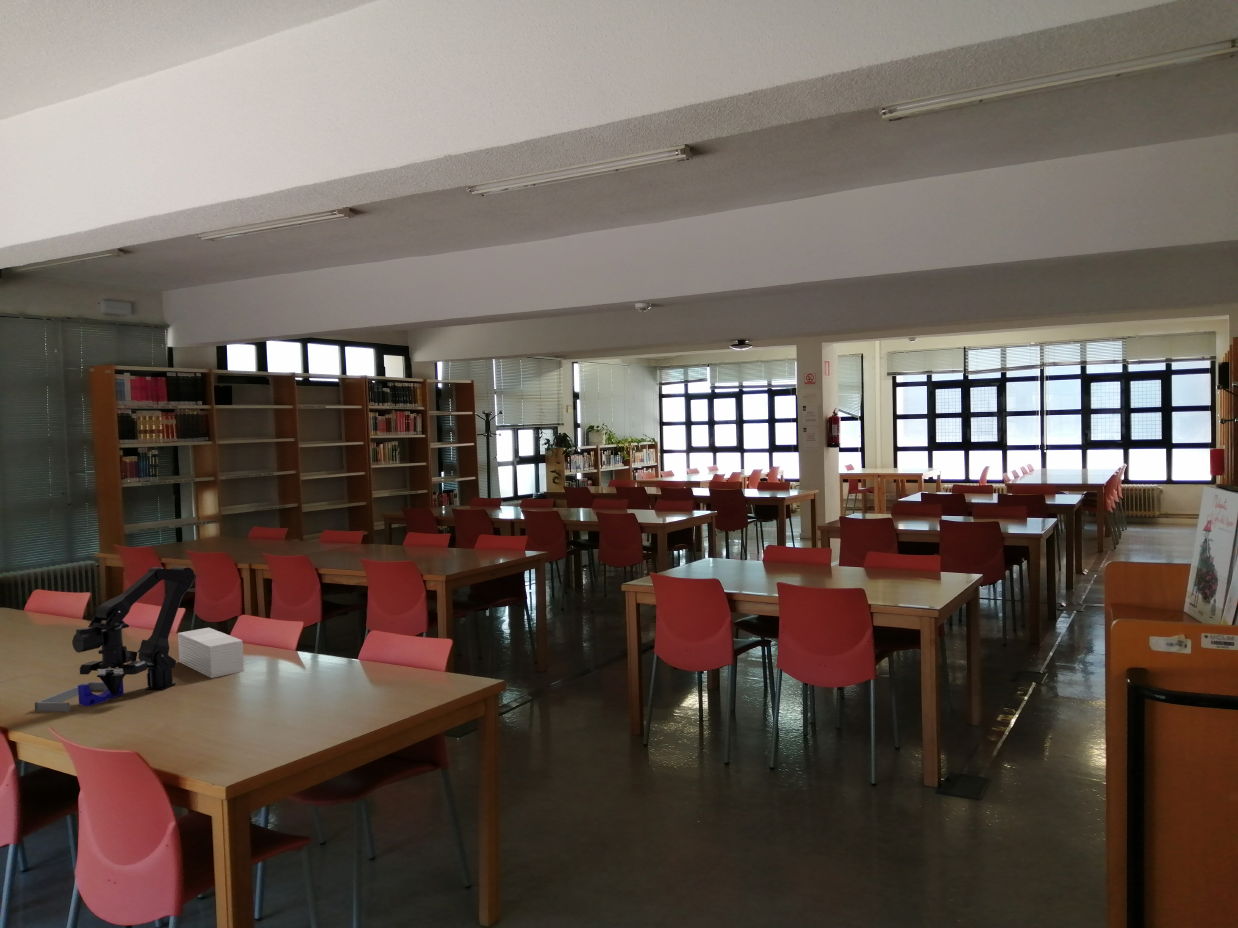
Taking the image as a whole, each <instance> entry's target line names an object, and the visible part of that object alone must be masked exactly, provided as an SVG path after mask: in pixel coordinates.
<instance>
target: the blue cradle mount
mask: <svg viewBox="0 0 1238 928" xmlns="http://www.w3.org/2000/svg"><path fill="white" fill-rule="evenodd" d="M77 686H78V695H77V696H78V705H79V706H84V707H91V706H94V705H97V704H101V703H103V702H108V700H110V699H114V698H116V697H121V696H123V695H124V693H125V691H124V679H123V680H122V682H121V685H120V688H119V691H118V694H117V695H116V696H112V694H111V693H110V691H109V690H108V689H107V690H104V691H103V692H102V693H98V694H97V693H96V694H95V693H92V690H90V689H89V685H85V683H81V684H78V685H77Z"/></svg>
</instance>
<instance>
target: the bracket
mask: <svg viewBox="0 0 1238 928" xmlns="http://www.w3.org/2000/svg"><path fill="white" fill-rule="evenodd" d="M84 684H85V685H89V689H90V691H106V690H107V689H108V688H107V687H106V685H105V684H104V683H103V681H88V682H85V683H84ZM77 696H79V695H78V685H77V686H75V687H72V688H70V689H67V690H64V691H62V692H60V693H59V692H58V693H57V694H55V695H52V696H49V697H46V698H44V699H40V700H39V701H36V702H34V711H35V712H55V713H56V712H63V713H65V712H66V713H67V712H70V711H71V708H70V702H66V700H69V699H72V698H74V697H77ZM64 701H65V702H64Z"/></svg>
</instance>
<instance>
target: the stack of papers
mask: <svg viewBox="0 0 1238 928" xmlns="http://www.w3.org/2000/svg"><path fill="white" fill-rule="evenodd" d="M177 640H178V657H179V658H178V661H179V663H180V664H183V665H184V666H186V667H189V668H191V669H193V670H195V671H196V672H199V673H201V674H202V675H204V676H207V677H209V678H211V679H213V678H218V677H222V676H223V677H224V676H228V675H233V674H237V673H243V672H244V671H245V664H244V645H243V639H240V638H237V637H236V636H235V637H234V636H232V635H229V634H227V633H224V632H222V631H218V630H217V629H214V628H211V627H204V628H199V629H193V630H187V631H183V632H177Z"/></svg>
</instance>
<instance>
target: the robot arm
mask: <svg viewBox="0 0 1238 928" xmlns="http://www.w3.org/2000/svg"><path fill="white" fill-rule="evenodd" d="M195 579H196V573H195V571H194V569H193V568H191V567H187V566H173V567H171V568H164V567H156V566H153V567H151V568H149V569H148V570H147V572H146V573H144V574H143V575H142V576H141V577H139V578H138V579H137V580H136V581H135V582H134V583H133V584H131V585H130V586H129V587H128V588H127V589H125V590H124V591H123V592H122V593H121V594H119V595H117V596H115V597H113V598H110V599H108V600H107V601H105V602H104V603H102V604H100V605H99V606H98V607H97V608H96V612H95V614H94V617H93V618H92V620H91V621H90V623H89V625H88V626H87V627H86V628H78V629H75V634H74V635H73V638H72V640H71V643H72V648H73V650H74V651H75V653H83V652H87V651H92V650H96V649H99V650H98V655H101V660H91V661H89V662H85V663H83V664H81V665H80V667H79V670H78V671H79V675H90V673H92V671H96V672H98V674H97V675H96V677H97V678H99V679H100V680H101V682H103V683H104V684H105V685H106V687H107V688H108V690H109V691H110V693H111V694H112V696H116V695H117V694H118V691H119V688H120V685H121V682H122V680H123V681H124V678H125V676H126V675H129V676H130V675H132V676H133V675H137V674H141V673H142V672H145V671H147V673H146V679H147V686H146V687H145V690H150V691H151V690H160V691H161V690H166V689H169V688H170V687H173V686H174V685H177V683H176V682H175V681H173V669H175V667H176V663H177V661H176V660H175V658H173V657H172V656H171V655H169V653H170V645H169V637H170V634H171V630H172V629H173V625H174V622H175V620H176V616H177V613H178V610H179V607H180V604H181V601H182V599H183V597H184V595H185V594H186V593H187V592H188V591H189V590H190V588H191V587H192V585H193V583H194V581H195ZM161 581H165V589H166V593H165V595H164V598H163V602H162V605H161V608H160V610H159V613H158V617H157V619H156V621H155V624H154V628H153V630H152V633H151V635H150V636H149V638H148V639H142V640H141V643H140V647H139V649H138V650H137V651H133V650H128V648H127V646H126V645H124V642H123V641H124V640H123V639H124V638H123V637H124V636H123V630H124V629H126V628H127V629H128V628H129V627H130V625H129V623H126V621H124V619H125V618H126V616H127V615H128V614H129V613H130V611H131V608H132V607H133V606H134V604H136V603H137V602H138V601H139V600H140V599H141V598H142V597H143V596H144V595H146V594H147V593H148V592H149V591H150V590H152V589H153V588H154V587H155V586H156V585H158V583H160V582H161ZM137 659H138V660H137Z"/></svg>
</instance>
